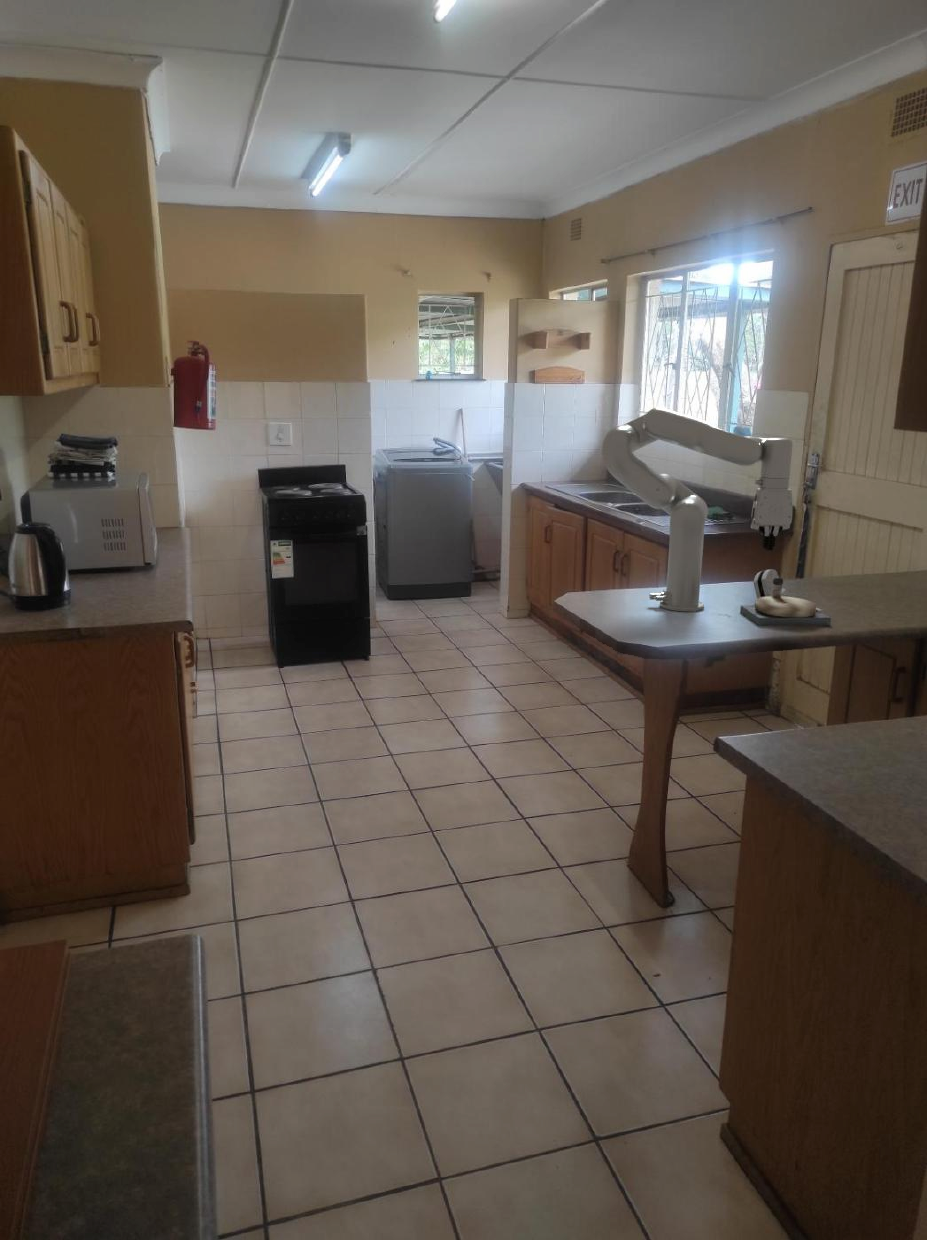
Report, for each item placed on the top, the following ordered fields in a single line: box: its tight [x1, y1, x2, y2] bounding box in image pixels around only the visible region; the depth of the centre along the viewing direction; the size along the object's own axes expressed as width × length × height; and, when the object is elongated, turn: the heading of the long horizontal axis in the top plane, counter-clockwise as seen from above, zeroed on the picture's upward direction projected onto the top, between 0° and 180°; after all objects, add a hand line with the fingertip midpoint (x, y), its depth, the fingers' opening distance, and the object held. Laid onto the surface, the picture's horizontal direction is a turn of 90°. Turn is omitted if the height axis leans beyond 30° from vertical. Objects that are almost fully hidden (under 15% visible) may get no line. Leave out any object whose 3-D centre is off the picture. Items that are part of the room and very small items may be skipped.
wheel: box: [754, 576, 817, 617], centre depth 243 cm, size 16×16×8 cm
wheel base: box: [739, 604, 832, 627], centre depth 244 cm, size 20×14×3 cm
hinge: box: [753, 568, 788, 599], centre depth 267 cm, size 17×5×10 cm, turn 149°
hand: (768, 549), depth 245 cm, fingers closed
